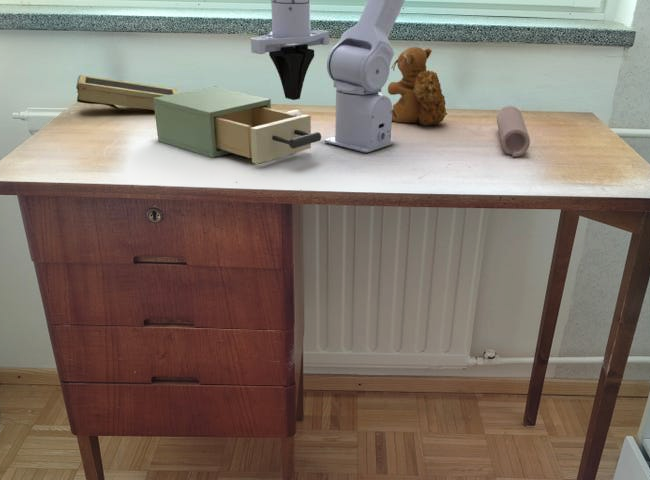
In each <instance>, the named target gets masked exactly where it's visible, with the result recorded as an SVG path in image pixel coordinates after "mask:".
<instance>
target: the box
mask: <svg viewBox="0 0 650 480" xmlns="http://www.w3.org/2000/svg"><path fill="white" fill-rule="evenodd" d="M75 88H76V91H77V92H76V93H77V97H76V102H77V103H81V104H86V105H87V104H89V105H102V106H103V105H104V106H107V107H110V108H113V109H115V110H117V111H119V112H122V110H121V109H120V107H127V108H135V109H142V110H150V111H155V110H154V101H153V98H156V97H161V96H166V95H172V94H177V93H180V91H179V89H178V88H173V87H167V86H166V87H165V86H160V85H153V84H152V85H151V84H146V83H139V82H132V81H126V80H118V79H112V78H103V77H98V76H90V75H85V74H84V75H83V74H79V75H78V77H77V81H76V86H75ZM118 106H120V107H118Z"/></svg>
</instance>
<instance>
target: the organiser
mask: <svg viewBox="0 0 650 480" xmlns="http://www.w3.org/2000/svg"><path fill="white" fill-rule="evenodd" d="M271 100H272V99H271V98H267V97H263V96H257V95H254V94H250V93H245V92H241V91H236V90H231V89H227V88H223V87H218V86H210V87H204V88H199V89H193V90H189V91H183V92H179V93H177V94H172V95H166V96H161V97H156V98H153V101H154V110H153V111H154V118H155V127H156V134H157V140H158V142H161V143H164V144H167V145H171V146H174V147H177V148H181V149H183V150H187V151H191V152H193V153H196V154H199V155H202V156H206V157H210V158H212V159H214V158H218V157H221V156H225V155H228V154H231V152H228V151H225V150H221V149H218V148H216V141H215V128H214V117H215V116H220V115H224V114H229V113H233V112H238V111H242V110H247V109H251V108H256V107H260V106H262V107H266V108H270V109H272V101H271Z"/></svg>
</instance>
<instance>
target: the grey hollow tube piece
mask: <svg viewBox="0 0 650 480" xmlns="http://www.w3.org/2000/svg"><path fill="white" fill-rule="evenodd" d="M522 114H523V113H522V112H521V111H520V109H518V108H517V107H515V106H512V105H509V106H505V107H503V108H501V109H500V110H499V112H498V114H497V116H496V125H497V130H498V135H499V140H500V144H501V148H502V150H503V151H504V153H506V154H507V155H510V156H511V157H513V158H517V157H521V156H523V155H525V153H526V152H527V151H528V150H529V147H530V145H531V144H530V143H531V139H530V138H531V137H530V135H529V132H528V129H527V126H526V124H525V121H524V118H523V115H522Z"/></svg>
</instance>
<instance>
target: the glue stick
mask: <svg viewBox="0 0 650 480" xmlns="http://www.w3.org/2000/svg"><path fill="white" fill-rule="evenodd" d="M286 112H287V113H291V114H295V115H296V116H300V115H303V114H302V112H301V111H300V110H299V109H293V110H288V111H286Z"/></svg>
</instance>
